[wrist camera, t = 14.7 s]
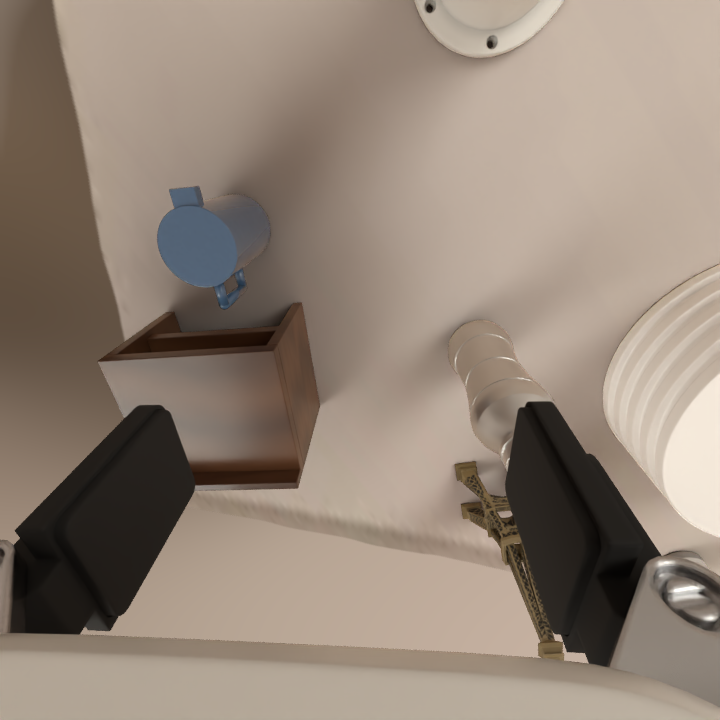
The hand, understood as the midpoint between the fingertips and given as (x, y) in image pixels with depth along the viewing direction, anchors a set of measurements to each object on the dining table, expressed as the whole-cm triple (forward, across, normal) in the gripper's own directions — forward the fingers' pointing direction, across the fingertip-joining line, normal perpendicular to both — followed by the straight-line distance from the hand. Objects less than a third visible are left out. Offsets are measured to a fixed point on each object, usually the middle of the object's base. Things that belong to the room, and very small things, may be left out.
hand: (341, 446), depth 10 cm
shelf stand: (+32, +16, +15) cm, 39 cm away
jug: (+32, +14, -1) cm, 35 cm away
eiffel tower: (+32, -16, +36) cm, 50 cm away
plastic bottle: (+32, -11, +13) cm, 36 cm away
